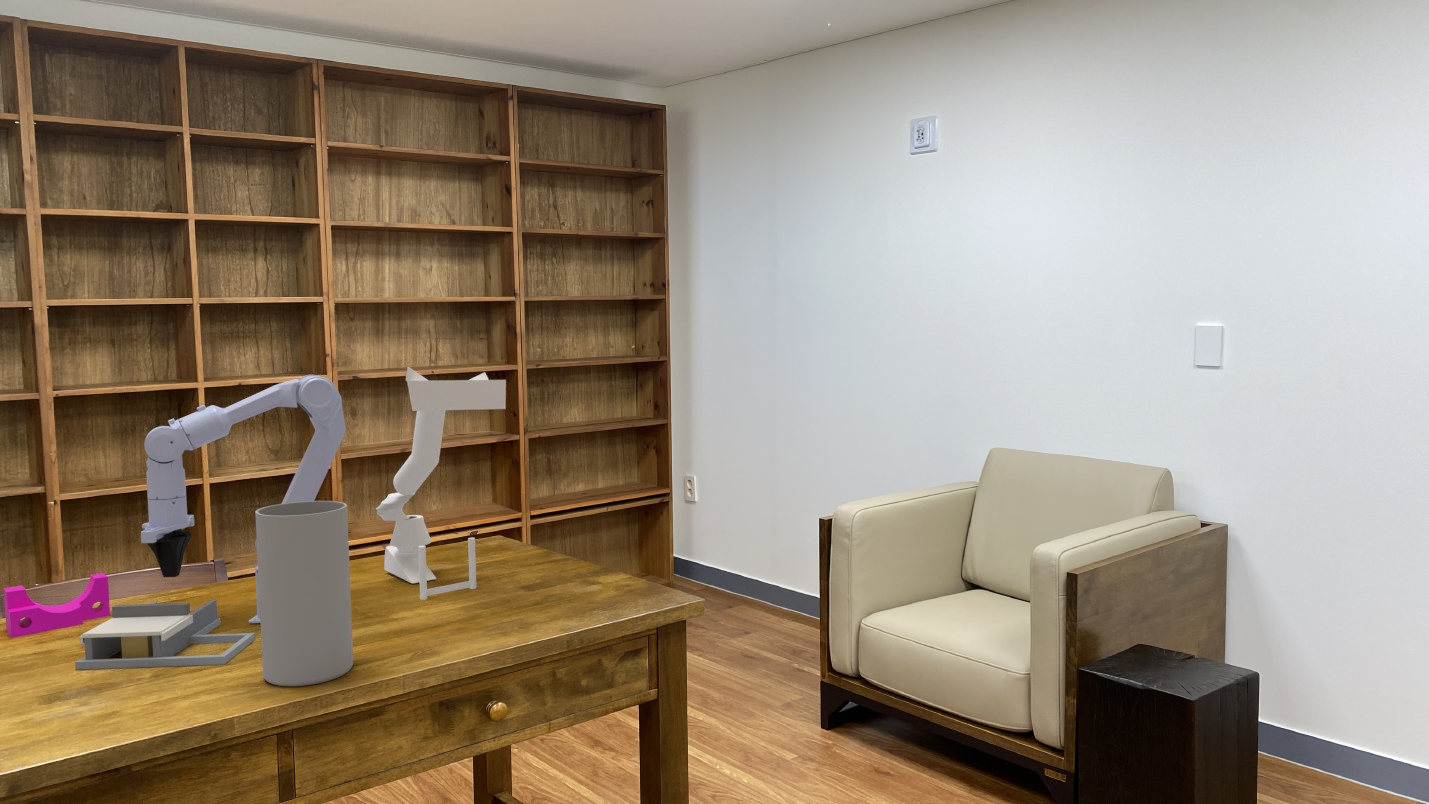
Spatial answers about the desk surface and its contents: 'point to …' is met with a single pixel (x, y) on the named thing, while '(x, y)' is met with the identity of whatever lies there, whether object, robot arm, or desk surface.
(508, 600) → the desk surface
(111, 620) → the cover
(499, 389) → the desk lamp
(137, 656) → the block
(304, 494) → the robot arm
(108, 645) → the gray square frame
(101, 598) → the toy block
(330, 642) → the cylinder vase
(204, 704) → the desk surface
